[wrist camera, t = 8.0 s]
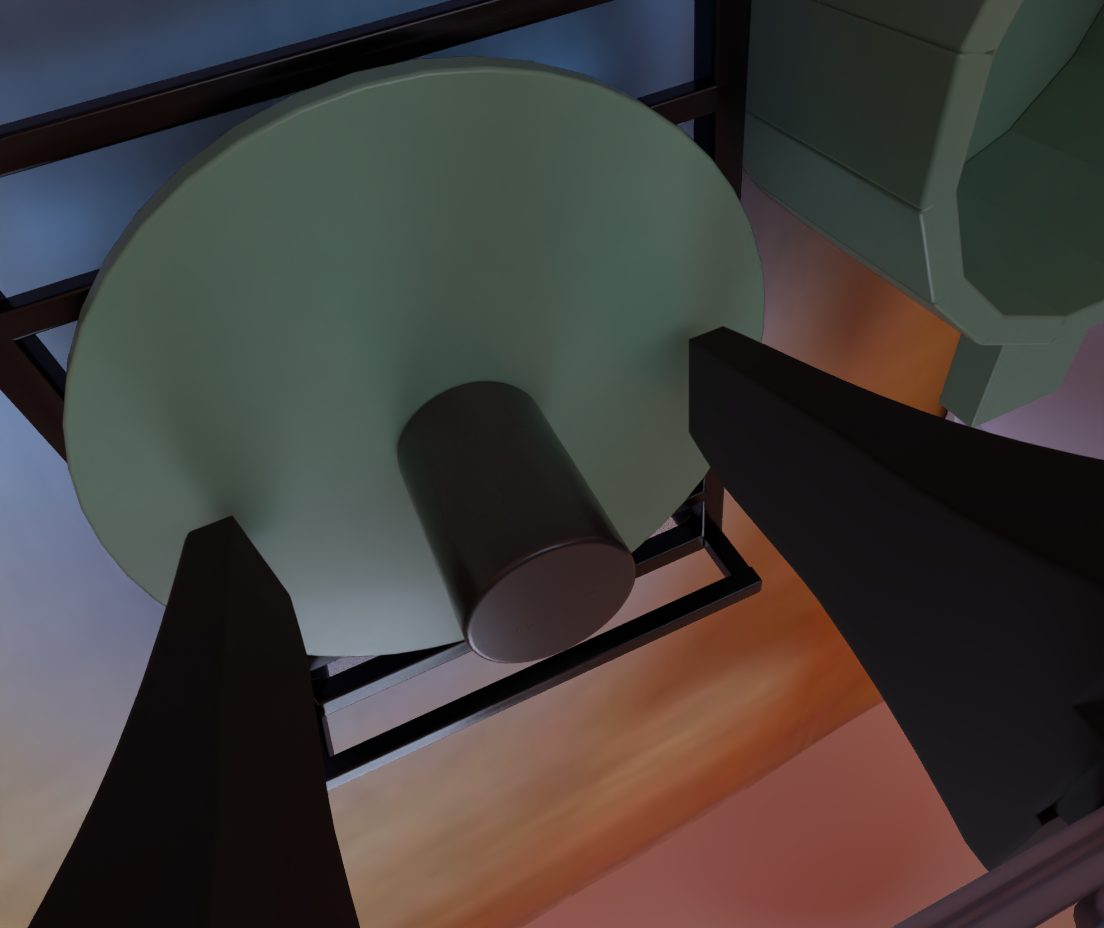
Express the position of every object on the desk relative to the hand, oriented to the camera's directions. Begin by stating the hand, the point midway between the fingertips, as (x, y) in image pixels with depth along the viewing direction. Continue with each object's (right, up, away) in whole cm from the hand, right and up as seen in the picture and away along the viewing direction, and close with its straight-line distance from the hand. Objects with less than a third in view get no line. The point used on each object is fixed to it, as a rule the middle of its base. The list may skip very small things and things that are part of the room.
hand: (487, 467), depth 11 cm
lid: (0, +1, +1) cm, 1 cm away
